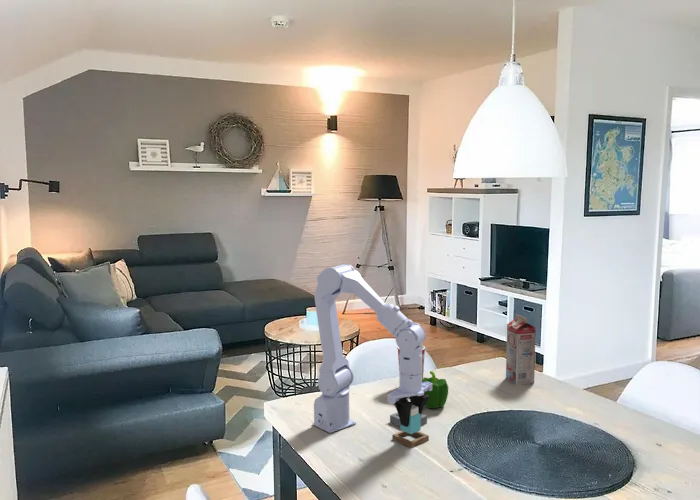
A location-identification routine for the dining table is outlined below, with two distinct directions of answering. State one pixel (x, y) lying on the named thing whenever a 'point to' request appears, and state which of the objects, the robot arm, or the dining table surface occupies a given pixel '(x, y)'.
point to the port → (396, 420)
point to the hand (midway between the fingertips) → (410, 423)
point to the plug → (413, 421)
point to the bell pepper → (436, 392)
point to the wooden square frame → (412, 443)
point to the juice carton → (520, 351)
